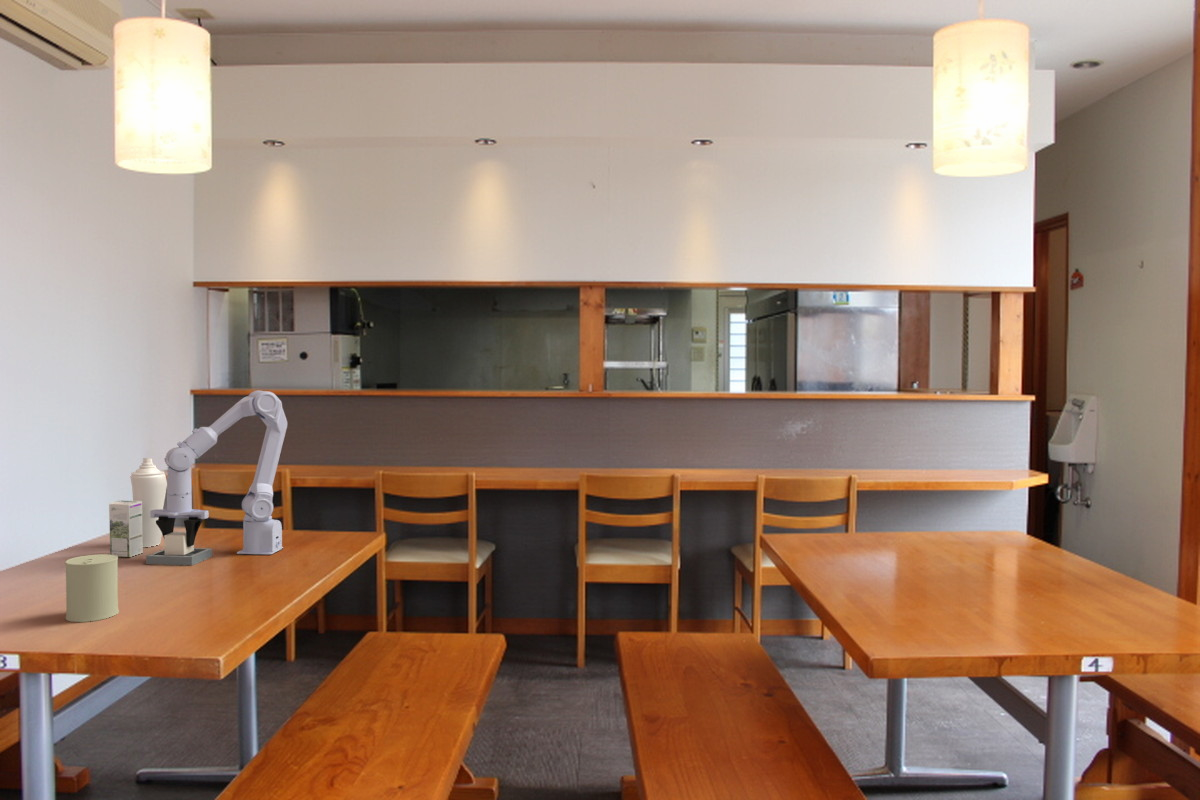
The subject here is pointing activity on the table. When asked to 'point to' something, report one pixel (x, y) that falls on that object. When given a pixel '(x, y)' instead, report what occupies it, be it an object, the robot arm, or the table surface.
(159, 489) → the spray can
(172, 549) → the cream cube
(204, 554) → the slate dish
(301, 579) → the table surface
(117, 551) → the syrup box
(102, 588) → the can
